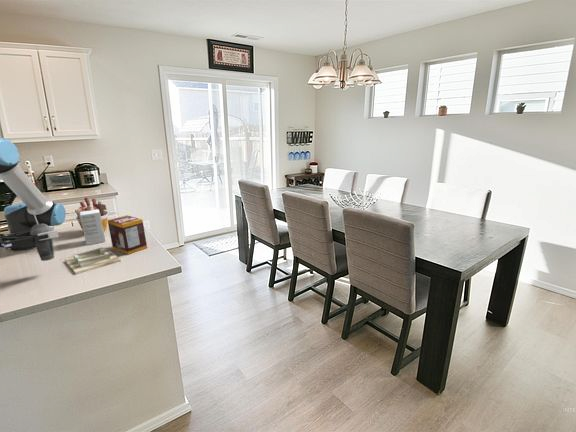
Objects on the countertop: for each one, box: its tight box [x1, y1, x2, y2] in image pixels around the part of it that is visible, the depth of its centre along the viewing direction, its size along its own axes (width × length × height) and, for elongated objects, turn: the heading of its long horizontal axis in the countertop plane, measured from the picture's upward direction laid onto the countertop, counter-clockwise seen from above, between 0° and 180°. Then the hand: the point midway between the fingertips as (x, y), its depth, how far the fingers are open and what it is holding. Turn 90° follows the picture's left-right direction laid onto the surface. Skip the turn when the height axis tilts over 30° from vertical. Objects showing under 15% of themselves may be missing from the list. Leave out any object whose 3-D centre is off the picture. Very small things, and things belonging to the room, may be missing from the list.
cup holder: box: [64, 247, 121, 275], centre depth 145 cm, size 20×18×4 cm
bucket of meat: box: [74, 197, 109, 233], centre depth 186 cm, size 20×16×20 cm
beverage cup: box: [30, 213, 55, 262], centre depth 130 cm, size 7×7×20 cm
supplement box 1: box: [80, 209, 107, 246], centre depth 170 cm, size 10×9×17 cm
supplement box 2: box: [107, 215, 148, 255], centre depth 158 cm, size 10×15×16 cm
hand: (55, 231), depth 133 cm, fingers closed on beverage cup, 7 cm apart
